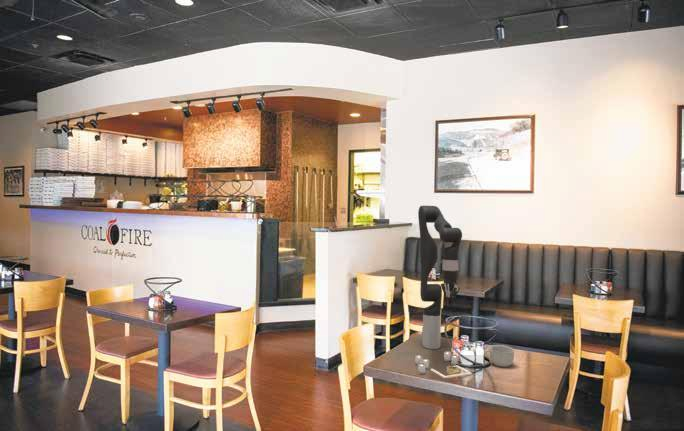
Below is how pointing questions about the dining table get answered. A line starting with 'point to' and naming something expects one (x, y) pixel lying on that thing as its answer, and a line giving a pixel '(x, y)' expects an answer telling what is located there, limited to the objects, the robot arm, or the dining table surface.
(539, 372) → the dining table surface
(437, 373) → the frame
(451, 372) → the nut
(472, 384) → the dining table surface
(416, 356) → the spacer field
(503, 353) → the teacup
